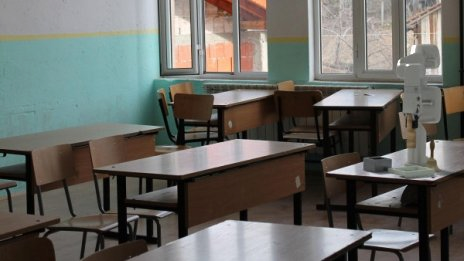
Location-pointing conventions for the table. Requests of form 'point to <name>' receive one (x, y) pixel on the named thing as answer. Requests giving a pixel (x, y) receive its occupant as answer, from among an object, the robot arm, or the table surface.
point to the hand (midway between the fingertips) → (411, 127)
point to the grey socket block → (377, 164)
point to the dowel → (410, 133)
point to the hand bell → (432, 158)
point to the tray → (408, 172)
